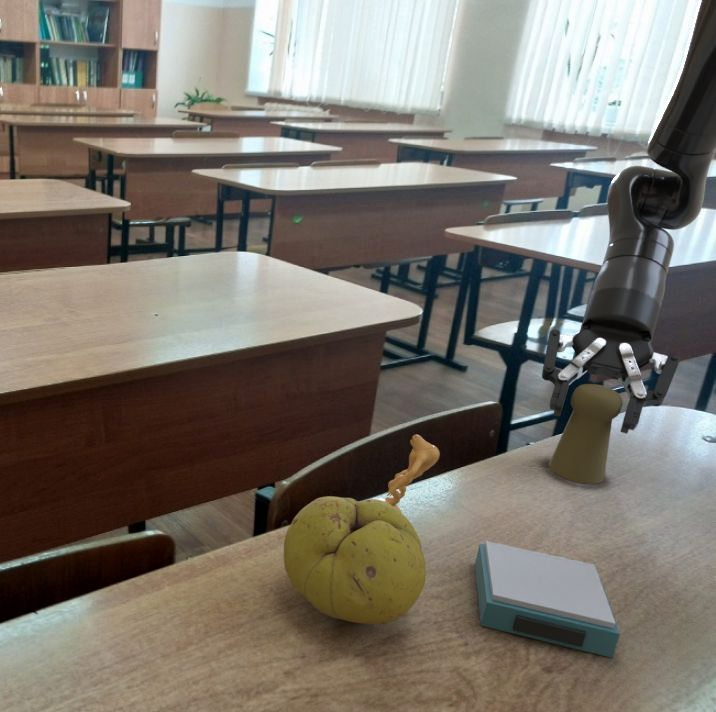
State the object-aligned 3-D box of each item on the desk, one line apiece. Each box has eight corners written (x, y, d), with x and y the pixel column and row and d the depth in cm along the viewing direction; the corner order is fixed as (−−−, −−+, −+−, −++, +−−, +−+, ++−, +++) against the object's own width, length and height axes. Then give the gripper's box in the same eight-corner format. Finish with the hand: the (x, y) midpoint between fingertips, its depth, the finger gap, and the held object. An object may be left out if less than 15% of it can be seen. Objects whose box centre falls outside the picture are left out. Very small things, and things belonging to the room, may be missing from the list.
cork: (558, 454, 93) (581, 374, 89) (610, 472, 89) (636, 390, 85) (541, 469, 89) (563, 386, 85) (595, 489, 85) (621, 403, 81)
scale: (589, 590, 67) (598, 562, 66) (613, 661, 59) (623, 630, 58) (474, 564, 70) (481, 537, 69) (481, 628, 62) (488, 598, 61)
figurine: (375, 511, 78) (394, 409, 74) (431, 532, 75) (454, 427, 70) (344, 546, 72) (362, 437, 67) (404, 572, 68) (428, 459, 64)
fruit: (348, 553, 71) (364, 462, 67) (445, 631, 61) (469, 530, 58) (255, 585, 65) (266, 488, 62) (345, 676, 56) (364, 568, 52)
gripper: (562, 274, 90) (525, 391, 85) (701, 298, 83) (670, 427, 78) (557, 306, 96) (522, 417, 91) (687, 330, 89) (656, 452, 84)
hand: (590, 421), depth 85 cm, fingers open, 6 cm apart
